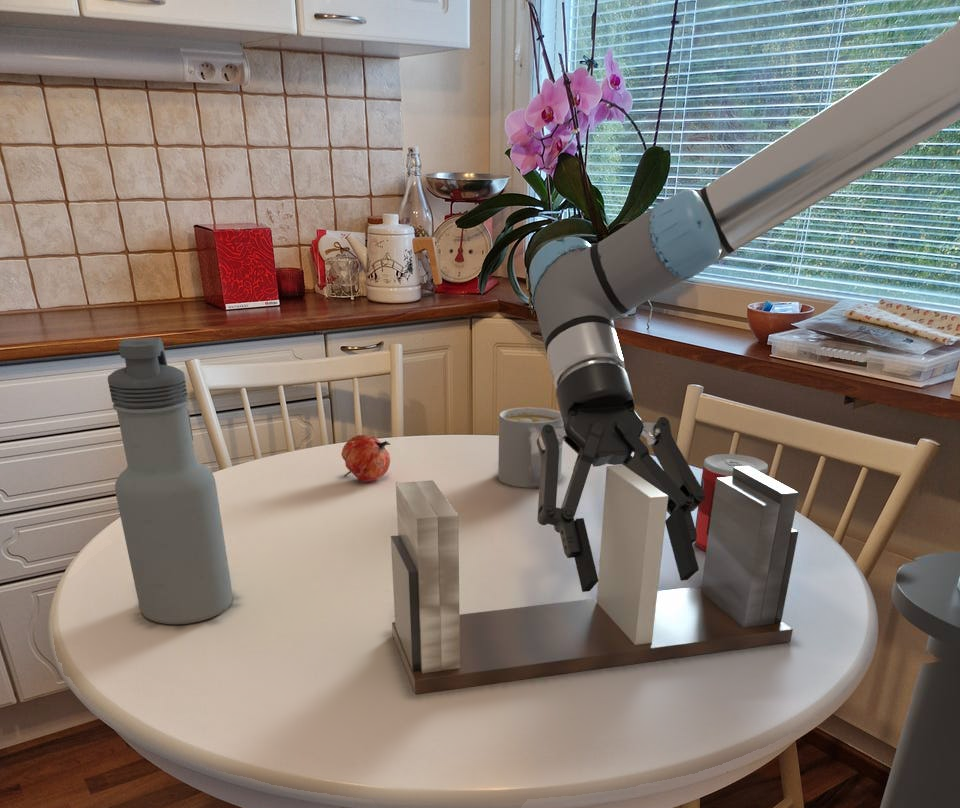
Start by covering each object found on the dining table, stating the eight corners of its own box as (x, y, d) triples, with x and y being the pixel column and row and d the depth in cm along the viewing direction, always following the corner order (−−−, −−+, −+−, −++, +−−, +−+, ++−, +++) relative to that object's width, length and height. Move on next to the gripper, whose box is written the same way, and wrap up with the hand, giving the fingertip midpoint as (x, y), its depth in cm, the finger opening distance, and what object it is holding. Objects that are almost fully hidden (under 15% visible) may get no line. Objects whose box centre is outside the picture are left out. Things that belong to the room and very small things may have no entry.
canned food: (726, 531, 114) (738, 450, 109) (767, 551, 108) (782, 467, 103) (680, 539, 111) (690, 457, 106) (720, 561, 105) (732, 475, 100)
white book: (611, 600, 91) (623, 464, 84) (652, 643, 83) (668, 495, 76) (596, 602, 91) (606, 466, 84) (635, 645, 83) (650, 497, 75)
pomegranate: (340, 499, 132) (382, 467, 126) (318, 457, 132) (358, 424, 126) (370, 491, 138) (410, 461, 132) (348, 451, 138) (388, 419, 132)
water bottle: (144, 592, 97) (91, 334, 83) (233, 583, 99) (195, 330, 86) (137, 632, 88) (77, 351, 75) (234, 621, 90) (192, 346, 77)
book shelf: (730, 594, 97) (752, 451, 89) (790, 642, 86) (821, 485, 79) (392, 635, 87) (384, 480, 80) (415, 694, 77) (408, 523, 69)
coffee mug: (501, 467, 140) (502, 406, 135) (561, 470, 139) (564, 408, 134) (492, 493, 128) (493, 427, 123) (558, 496, 127) (561, 429, 122)
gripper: (674, 395, 94) (726, 582, 88) (479, 407, 88) (521, 607, 83) (703, 354, 87) (763, 554, 81) (493, 364, 81) (540, 578, 76)
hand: (640, 580), depth 82 cm, fingers open, 10 cm apart
